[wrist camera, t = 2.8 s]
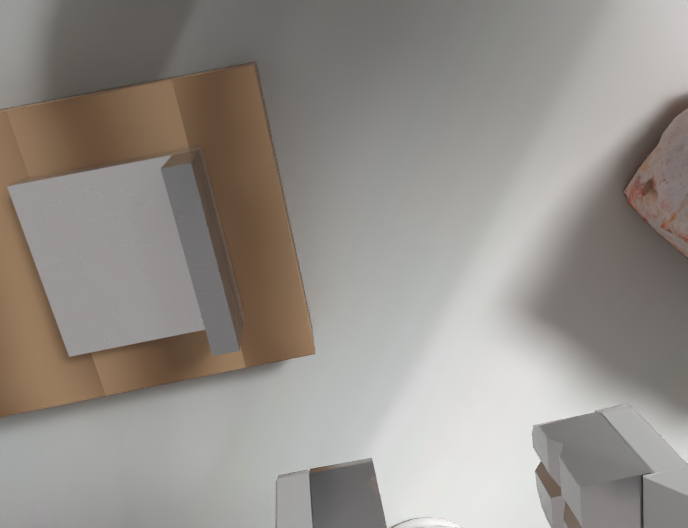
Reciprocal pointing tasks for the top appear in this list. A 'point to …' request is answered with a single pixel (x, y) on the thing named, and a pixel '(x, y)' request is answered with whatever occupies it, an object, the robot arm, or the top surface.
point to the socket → (234, 209)
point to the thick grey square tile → (132, 252)
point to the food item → (665, 185)
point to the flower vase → (428, 523)
